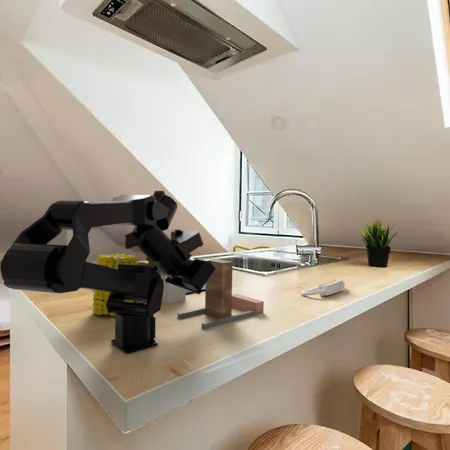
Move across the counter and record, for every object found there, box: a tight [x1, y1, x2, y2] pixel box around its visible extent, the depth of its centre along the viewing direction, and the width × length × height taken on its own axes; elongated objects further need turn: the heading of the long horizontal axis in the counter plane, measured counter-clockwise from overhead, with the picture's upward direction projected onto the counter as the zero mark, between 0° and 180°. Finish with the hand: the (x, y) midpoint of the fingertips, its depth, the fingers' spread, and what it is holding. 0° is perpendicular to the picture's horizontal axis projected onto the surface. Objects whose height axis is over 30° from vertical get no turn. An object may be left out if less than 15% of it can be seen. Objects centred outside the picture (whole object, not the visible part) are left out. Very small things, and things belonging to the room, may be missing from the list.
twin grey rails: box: [177, 293, 265, 330], centre depth 85 cm, size 18×10×3 cm, turn 132°
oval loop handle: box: [299, 279, 346, 297], centre depth 112 cm, size 20×8×4 cm, turn 138°
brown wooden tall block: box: [204, 258, 233, 319], centre depth 84 cm, size 3×6×13 cm, turn 42°
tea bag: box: [159, 273, 187, 306], centre depth 97 cm, size 4×7×10 cm, turn 142°
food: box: [92, 252, 139, 317], centre depth 86 cm, size 15×12×10 cm
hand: (199, 292), depth 81 cm, fingers closed
